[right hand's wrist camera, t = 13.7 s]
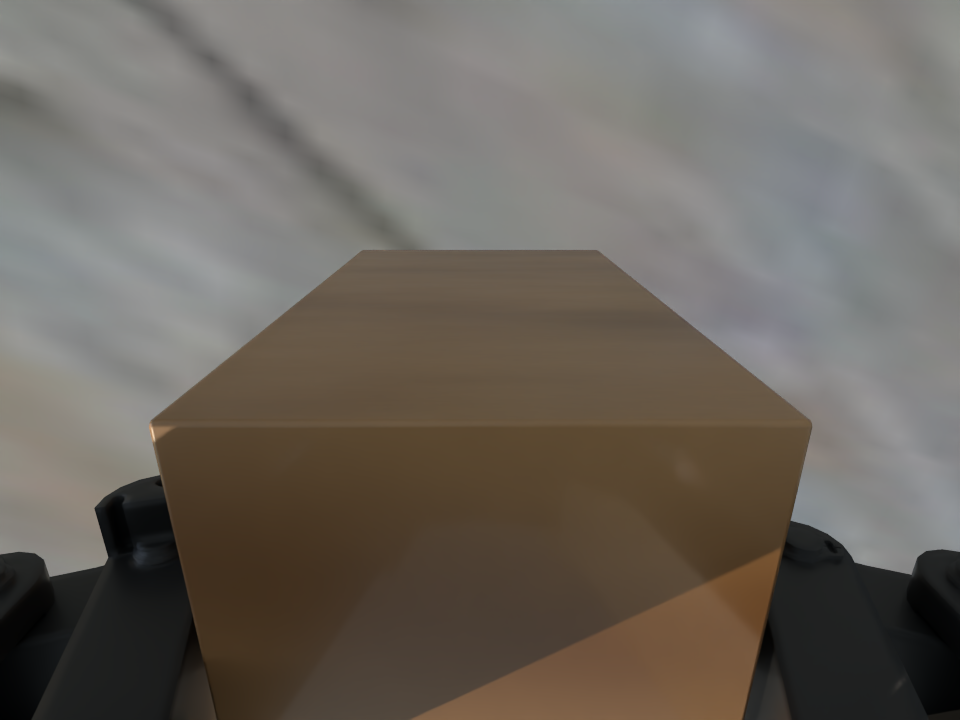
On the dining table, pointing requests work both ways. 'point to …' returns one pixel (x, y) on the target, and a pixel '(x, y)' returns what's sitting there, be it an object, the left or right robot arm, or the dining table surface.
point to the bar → (480, 499)
